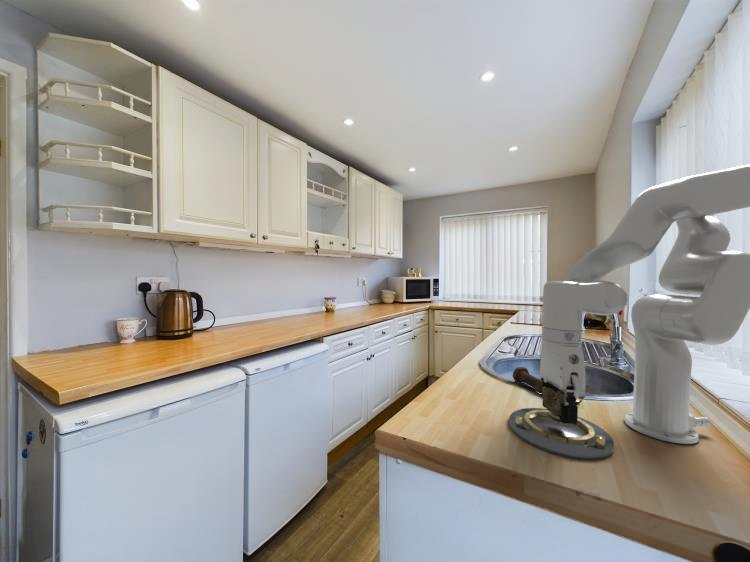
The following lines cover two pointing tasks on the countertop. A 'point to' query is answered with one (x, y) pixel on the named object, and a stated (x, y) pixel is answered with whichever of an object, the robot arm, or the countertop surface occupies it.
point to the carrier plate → (561, 435)
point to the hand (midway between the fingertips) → (558, 413)
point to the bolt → (527, 378)
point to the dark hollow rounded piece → (553, 400)
